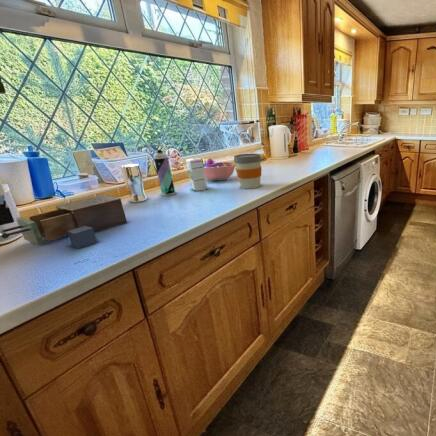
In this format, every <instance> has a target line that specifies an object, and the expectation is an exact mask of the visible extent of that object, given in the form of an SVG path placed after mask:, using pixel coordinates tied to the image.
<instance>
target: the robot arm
mask: <svg viewBox="0 0 436 436" xmlns="http://www.w3.org/2000/svg"><path fill="white" fill-rule="evenodd" d="M6 199H7V194H6V192H5V189H4V185H3V183H2V181H1V180H0V226H4V225H8V224H13V223H14V222H15V219H14V217H13V213H12V211H11V209H10V207H9V205H8V203H7V201H6Z"/></svg>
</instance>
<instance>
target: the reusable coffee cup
mask: <svg viewBox="0 0 436 436" xmlns="http://www.w3.org/2000/svg"><path fill="white" fill-rule="evenodd" d="M261 163H262V156H261V154H260V153H241V154H235V155H234V156H233V164H235V172H236V176H237V178H238V179H239V183H240V188H241V189H244V190H251V189H257V188H260V187H261V177H262V165H261Z"/></svg>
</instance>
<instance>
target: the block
mask: <svg viewBox="0 0 436 436" xmlns="http://www.w3.org/2000/svg"><path fill="white" fill-rule="evenodd" d="M67 233H68V236H67V237H68V238H69V241H70V244H71V246H72V247H75V248H77V249H82V248H86V247H88V246H91V245H93V244H94V245H95V244H97V243H98V241H97V237H96V234H95V233H94V231H93V228H91V227H87V226H82V227H79V228H76V229H72V230H69V231H67Z"/></svg>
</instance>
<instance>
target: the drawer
mask: <svg viewBox="0 0 436 436" xmlns="http://www.w3.org/2000/svg"><path fill="white" fill-rule="evenodd" d="M15 219H16V223H17V226H12V227H9V228H4V229H0V238H2V239H8V238H9V237H10V236H14V235H18V234H22V237H23V240H25V241H26V242H29V243H31V244H34V245H36V246H38V247H41V246H45V241H47V242H52V241H55V240H58V239H62V238H65V237H69V236H68V233H67V231H69V230H72V229H76V228H77V225H76V222H75V219H74V216H73V213H72V212H69V211H66V210H62V209H58V210H57V209H54V210H49V211H46V212H42V213H36V214H32V215H28V218H25V217H23V216H19V217H15ZM18 229H19V230H18ZM15 230H16V231H15ZM44 240H45V241H44Z"/></svg>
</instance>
